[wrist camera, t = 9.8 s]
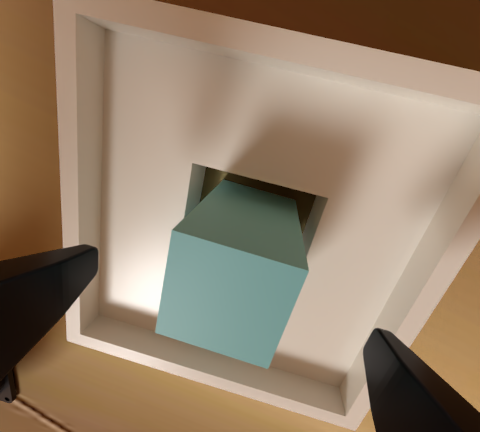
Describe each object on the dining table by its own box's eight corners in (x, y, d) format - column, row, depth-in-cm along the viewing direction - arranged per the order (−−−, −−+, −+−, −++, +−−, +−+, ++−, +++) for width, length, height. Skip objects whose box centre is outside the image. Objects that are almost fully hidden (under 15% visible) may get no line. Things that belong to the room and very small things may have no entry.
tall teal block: (273, 262, 15) (267, 369, 8) (208, 242, 15) (155, 332, 9) (295, 199, 13) (308, 271, 7) (223, 179, 14) (171, 229, 7)
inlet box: (338, 362, 17) (355, 430, 13) (111, 295, 18) (66, 340, 14) (474, 103, 11) (574, 92, 7) (123, 23, 12) (51, -23, 8)
